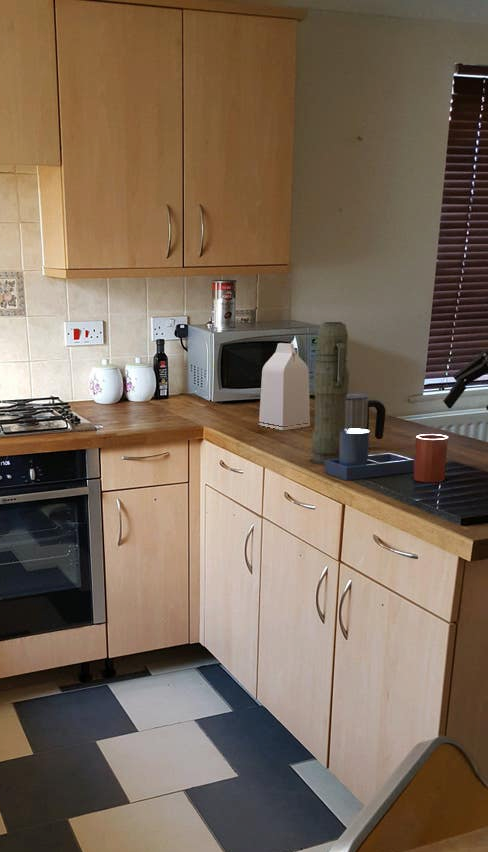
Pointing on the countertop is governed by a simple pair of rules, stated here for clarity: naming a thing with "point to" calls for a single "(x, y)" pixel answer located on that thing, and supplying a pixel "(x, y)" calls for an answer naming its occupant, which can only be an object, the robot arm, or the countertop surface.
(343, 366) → the thermos
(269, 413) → the milk
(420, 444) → the terracotta cup
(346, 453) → the slate blue mug
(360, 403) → the milk frother
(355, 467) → the sorter
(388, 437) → the countertop surface
